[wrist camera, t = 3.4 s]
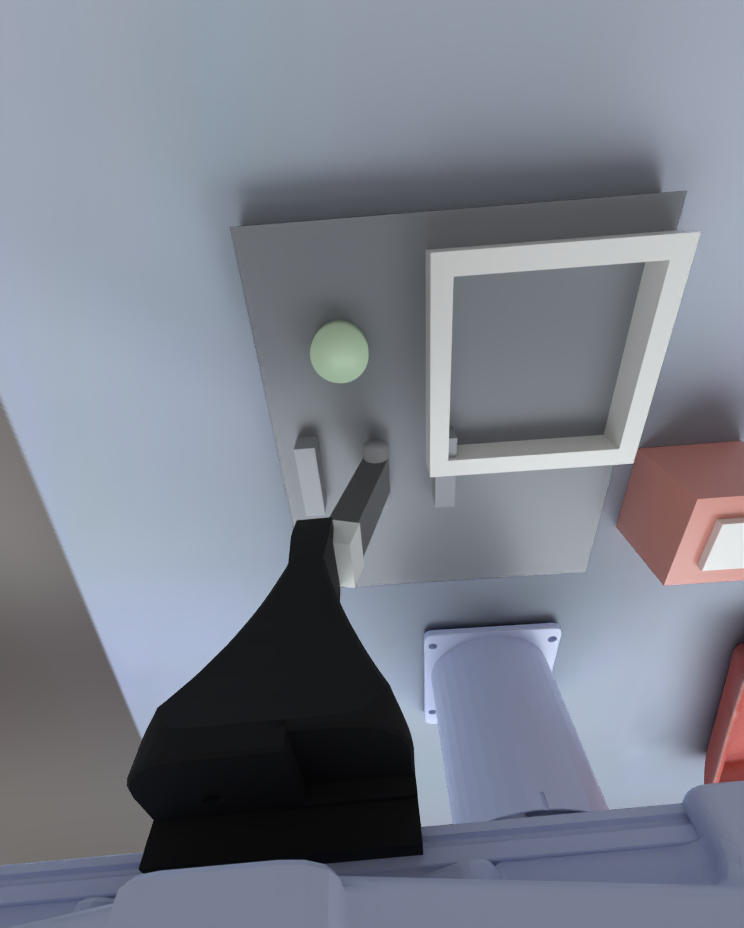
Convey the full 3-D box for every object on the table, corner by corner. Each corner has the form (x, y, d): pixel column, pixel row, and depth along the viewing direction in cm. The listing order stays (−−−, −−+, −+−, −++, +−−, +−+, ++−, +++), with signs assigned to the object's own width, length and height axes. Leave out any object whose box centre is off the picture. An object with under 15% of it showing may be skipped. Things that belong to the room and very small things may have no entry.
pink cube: (705, 518, 21) (778, 583, 17) (615, 525, 21) (667, 591, 17) (738, 439, 19) (830, 494, 15) (636, 447, 19) (703, 503, 15)
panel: (574, 555, 22) (596, 590, 20) (309, 572, 22) (303, 609, 20) (662, 192, 14) (716, 188, 12) (239, 226, 14) (218, 228, 12)
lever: (395, 494, 18) (356, 597, 13) (368, 491, 18) (321, 591, 14) (393, 440, 17) (348, 533, 12) (364, 438, 17) (309, 528, 12)
